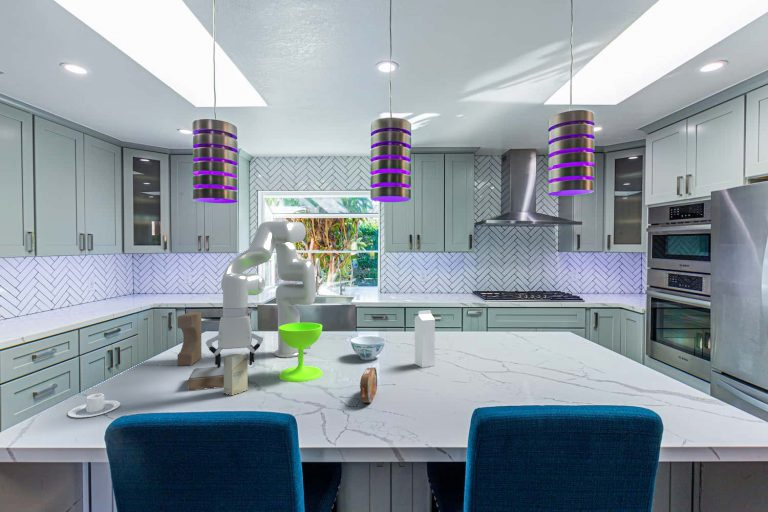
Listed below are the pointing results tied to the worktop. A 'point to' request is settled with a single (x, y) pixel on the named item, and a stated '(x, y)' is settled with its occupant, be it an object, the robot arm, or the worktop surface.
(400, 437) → the worktop surface
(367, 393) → the tin
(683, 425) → the worktop surface
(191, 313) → the decorative block
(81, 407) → the candle holder
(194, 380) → the plinth
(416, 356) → the milk
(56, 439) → the worktop surface
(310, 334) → the wineglass
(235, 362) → the skincare box
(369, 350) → the chinaware
